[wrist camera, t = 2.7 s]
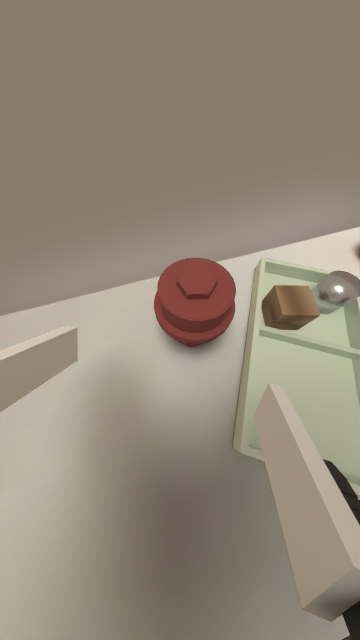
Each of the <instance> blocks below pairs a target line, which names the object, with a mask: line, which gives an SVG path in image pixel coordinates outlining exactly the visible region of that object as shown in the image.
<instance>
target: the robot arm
mask: <svg viewBox="0 0 360 640" xmlns="http://www.w3.org/2000/svg"><path fill="white" fill-rule="evenodd" d="M76 361H78V347H77V327H74V326H70V325H66V326H63V327H61V328H58V329H55V330H53V331H50V332H48V333H45V334H42V335H40V336H37V337H35V338H32V339H29V340H27V341H24V342H22V343H19V344H16V345H14V346H11V347H9V348H6V349H3V350H1V351H0V412H1V411H3V410H4V409H6V408H7V407H9V406H10V405H12V404H13V403H15V402H16V401H18V400H19V399H21V398H22V397H24V396H25V395H27V394H28V393H30V392H31V391H33V390H34V389H36V388H37V387H39V386H40V385H42V384H43V383H45V382H46V381H48V380H49V379H51V378H52V377H54V376H55V375H57V374H58V373H60V372H61V371H63V370H64V369H66V368H67V367H69V366H70V365H72V364H73V363H75V362H76ZM253 417H254V421H255V425H256V429H257V433H258V437H259V441H260V445H261V449H262V453H263V457H264V461H265V464H266V468H267V472H268V476H269V480H270V484H271V488H272V492H273V496H274V500H275V504H276V508H277V512H278V516H279V520H280V524H281V527H282V531H283V535H284V539H285V543H286V547H287V551H288V555H289V559H290V563H291V567H292V571H293V575H294V579H295V583H296V587H297V590H298V594H299V598H300V602H301V606H302V609H303V610H306V611H308V612H310V613H312V614H315V615H317V616H319V617H321V618H324V619H326V620H328V621H330V622H331V621H333V620H335V619H336V618H338V617H339V616H341V615H342V614H343V617H344V620H345V622H346V625H347V628H348V631H349V633H350V636H348V637H346V638H344V639H342V640H360V500H358V498H357V495H356V493H355V492H354V490H353V488H352V487H351V485H350V484H349V482H348V480H347V479H346V478H345V476H344V475H343V474H342V473H341V472H340V471H339V470H338V468H337V467H336V466H335V465H334V464H333V463H332V462H331V461H328V460H325V459H322V457H321V455H320V454H319V452H318V450H317V448H316V446H315V445H314V443H313V441H312V439H311V438H310V436H309V434H308V432H307V430H306V429H305V427H304V425H303V423H302V421H301V420H300V418H299V416H298V414H297V413H296V411H295V409H294V407H293V405H292V404H291V402H290V400H289V398H288V396H287V395H286V393H285V391H284V389H283V388H282V386H279V385H275V384H272V383H268V385H267V387H266V389H265V392H264V394H263V396H262V398H261V400H260V402H259V405H258V407H257V409H256V411H255V413H254V415H253Z"/></svg>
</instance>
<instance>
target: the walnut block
mask: <svg viewBox="0 0 360 640" xmlns="http://www.w3.org/2000/svg"><path fill="white" fill-rule="evenodd" d="M261 309H262V313H263V318H264V323H265V326H267V327H271V328H275V329H279V330H298V329H300V328H302V327H303V326H305V325H306V324H308V323H309V322H311V321H313V320H314V319H316V318H317V317H319V316H320V313H319V310H318V308H317V305H316V303H315V300H314V298H313V295H312V293H311V290H310V288H309V286H298V285H274V286H273V288H272V289H271V290H270V291H269V293H268V294H267V295H266V297H265V298H264V299H263V300H262V307H261Z"/></svg>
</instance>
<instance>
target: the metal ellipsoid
mask: <svg viewBox="0 0 360 640" xmlns="http://www.w3.org/2000/svg"><path fill="white" fill-rule="evenodd" d="M311 293H312V295H313V298H314V300H315V303H316V305H317V308H318V310H319V313H320V314H331V313H333V312H335V311H336V310H338V309H340V308H341V307H343V306H345V305H346V304H348V303H350V302H351V301H353V300H355V299H356V298H358V297H360V280H359V279H358V278H357V277H356V276H354V275H352V274H350V273H348V272H344V271H333V272H331V273H330V274H329V275H327V276H326V277H325V278H324V279H323V280H322V281H321V282H319V283H318V284H317V285H316V286H315V287H314V288H313V289H311Z"/></svg>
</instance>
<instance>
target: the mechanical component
mask: <svg viewBox="0 0 360 640" xmlns="http://www.w3.org/2000/svg"><path fill="white" fill-rule="evenodd" d="M157 289H158V291H157V293H156V296H155V299H154V310H155V314H156V317H157V320H158V322H159V324H160V326H161V327H162V329H163V330H164V331H165V332H166V333H167V334H168V335H170V336H171V337H173V338H174V339H176V340H178V341H179V342H181V343H183V344H187V346H189V347H194V346H195V345H198V344H201V343H206V342H209V341H212V340H214V339H216V338H217V337H219V336H220V335H221V334H223V333H224V332H225V330H226V329H227V328H228V326H229V324H230V323H231V321H232V319H233V316H234V313H235V301H234V299H235V294H236V287H235V283H234V280H233V278H232V276H231V275H230V273H229V272H228V271H227V270H226V269H225V268H224V267H222V266H221V265H219V264H218V263H216V262H213V261H211V260H207V259H203V258H187V259H183V260H180V261H177V262H175V263H173V264H171V265H170V266H169V267H167V268H166V269H165V270H164V272H163V273H162V274H161V276H160V278H159V281H158V288H157Z"/></svg>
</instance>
